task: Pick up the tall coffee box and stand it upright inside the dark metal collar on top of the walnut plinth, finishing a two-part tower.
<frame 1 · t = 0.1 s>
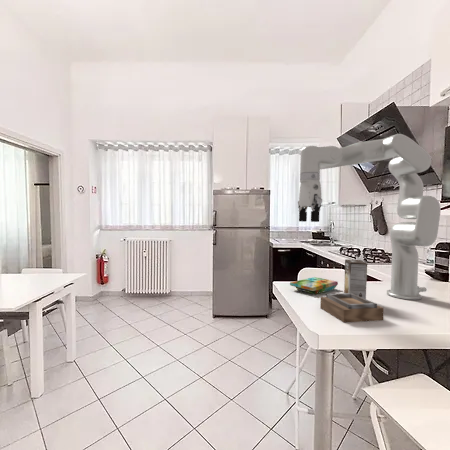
hand: (308, 221, 110), 31 cm above the counter, tool pointing down, fingers open, 9 cm apart
plinth: (349, 313, 94), on the counter
puzzle game: (314, 290, 126), on the counter
coffee box: (354, 302, 109), on the counter
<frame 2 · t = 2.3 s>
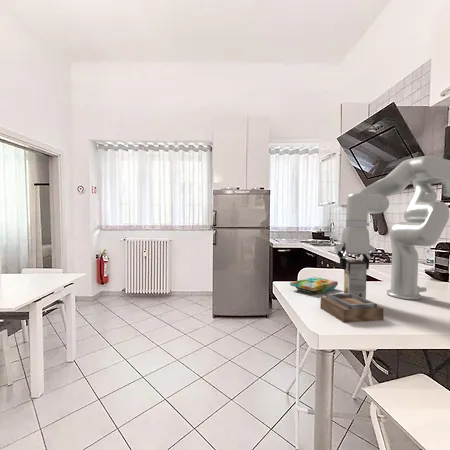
hand: (354, 268, 108), 13 cm above the counter, tool pointing down, fingers open, 9 cm apart
nothing on the counter moved.
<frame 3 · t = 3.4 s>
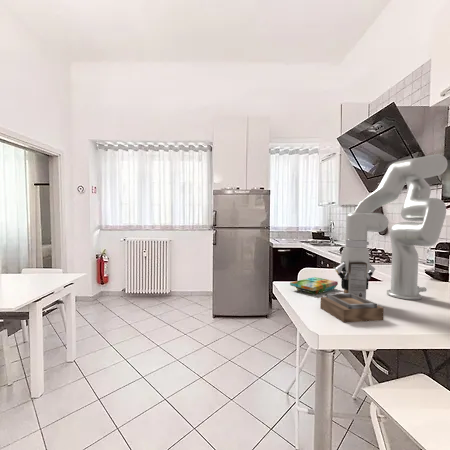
hand: (354, 288, 109), 5 cm above the counter, tool pointing down, fingers closed on coffee box, 8 cm apart
coffee box: (354, 302, 109), on the counter, touching gripper
everything else where it was.
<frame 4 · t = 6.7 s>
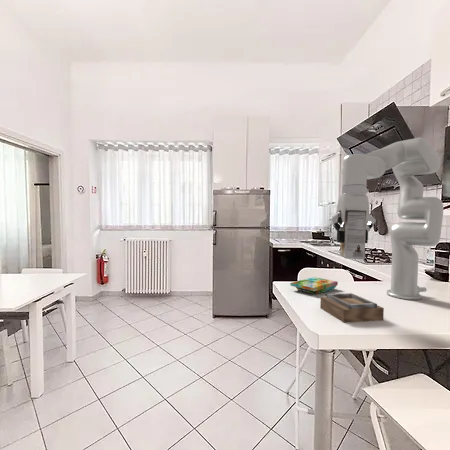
hand: (352, 242, 95), 24 cm above the counter, tool pointing down, fingers closed on coffee box, 8 cm apart
coffee box: (351, 257, 95), point 19 cm above the counter, touching gripper
everything else where it was.
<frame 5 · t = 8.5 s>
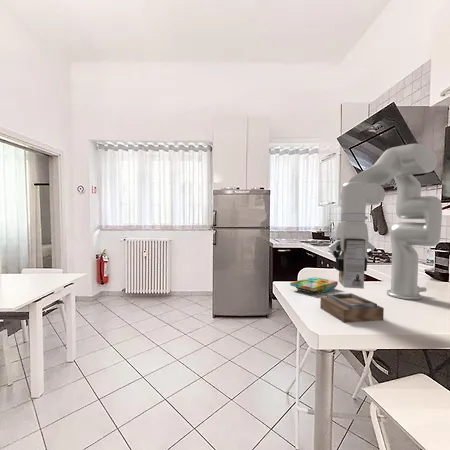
hand: (351, 270, 94), 15 cm above the counter, tool pointing down, fingers closed on coffee box, 8 cm apart
coffee box: (350, 285, 94), point 10 cm above the counter, touching gripper
everything else where it was.
when the fingers open (11 cm above the counter, at t = 9.9 s): coffee box stays where it is, resting on plinth.
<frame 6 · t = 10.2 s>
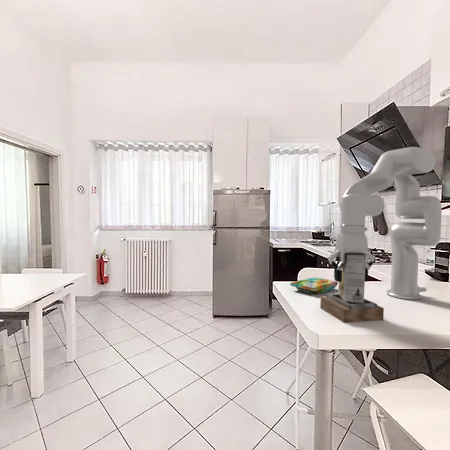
hand: (350, 280, 94), 11 cm above the counter, tool pointing down, fingers open, 9 cm apart
coffee box: (350, 299, 94), point 5 cm above the counter, touching plinth
everything else where it was.
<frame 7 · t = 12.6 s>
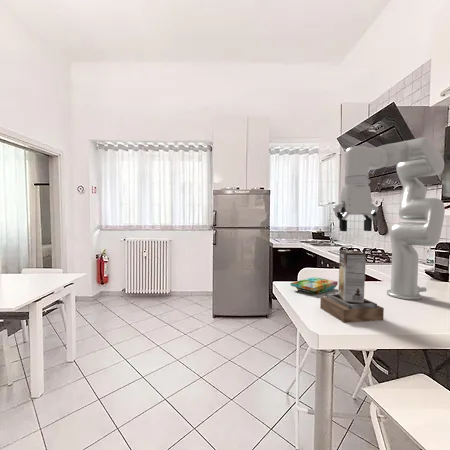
hand: (355, 231, 98), 28 cm above the counter, tool pointing down, fingers open, 9 cm apart
nothing on the counter moved.
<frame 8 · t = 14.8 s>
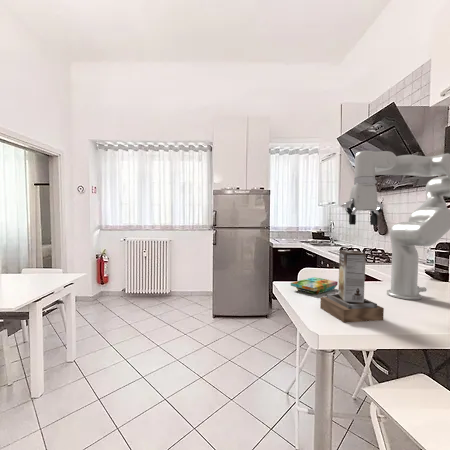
hand: (363, 224, 112), 30 cm above the counter, tool pointing down, fingers open, 9 cm apart
nothing on the counter moved.
at the end: coffee box 0.2 cm off-centre on the plinth, point 5.0 cm above the plinth's base; coffee box tilted 0°; the gripper is holding nothing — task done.
